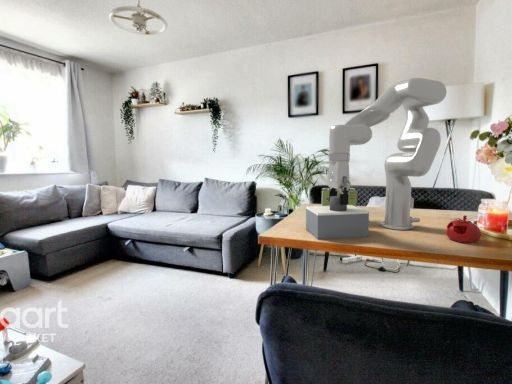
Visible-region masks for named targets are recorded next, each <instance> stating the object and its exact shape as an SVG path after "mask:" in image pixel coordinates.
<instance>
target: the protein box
mask: <svg viewBox="0 0 512 384" xmlns="http://www.w3.org/2000/svg"><path fill="white" fill-rule="evenodd" d="M336 191H337V196H340V194H341V192H340V189H339V188H337V190H336ZM357 201H358V190H357V189H355V188H354V187H350V190H349V196H348V205H353V206H356V207H358V206H357ZM321 206H330V201H329V187H323V188H321Z"/></svg>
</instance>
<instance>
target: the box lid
mask: <svg viewBox="0 0 512 384" xmlns="http://www.w3.org/2000/svg"><path fill="white" fill-rule="evenodd" d="M305 207H306V208H305V210H306V209H308V210H309V211H311V212H313V213H314V214H316V215H318V216H319V215H344V214H368V213H369V214H370V210H366V209H363V208H360V207H358V206H357V207H356V206H353V205H347V211H331V210H330V206H322V205H317V206H316V205H314V206H311V205H310V206H305Z"/></svg>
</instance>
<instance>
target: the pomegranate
mask: <svg viewBox="0 0 512 384" xmlns="http://www.w3.org/2000/svg"><path fill="white" fill-rule="evenodd" d="M467 217H468V216H467V215H463V216H462V219H461V218H460V217H456V218H454V219H452V218H451V219H450V220H451V221H449V223H447V225H446V236H447V238H448V239H449V240H452V241H454V242H458V243H463V244H474V243H477V242H478V241H480V239H481V237H482V232H481V230H480V227H478V225H477V224H476V223H473V222H478V220H475V219H473V220H467Z"/></svg>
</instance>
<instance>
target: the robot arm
mask: <svg viewBox="0 0 512 384" xmlns="http://www.w3.org/2000/svg"><path fill="white" fill-rule="evenodd" d="M447 93H448V91H447V86H446V85H445V83H443V82H442V81H439V80H436V79H435V80H434V79H429V78H423V77H412V78H408V79H405V80H402V81H401V80H400V81H398V82H396V83H394V84H392V85H390V86H389V87H388V88H387V89H386V90H384V91H383V92H382V94H381V95H379V96H378V98H377V99H375V100H374V102H372V103H371V104H370V105H369V106H367V107H366V108H364V109H363V110H361V111H360V112H358V113H357V114H356V115H354V116H352V117H351V118H349V120H347V122H345V123H344V124H336V125H332V126H330V128H329V140H328V142H329V146H328V147H329V148H328V149H329V151H328V162H329V163H328V170H327V186H328V188H329V201H330V197H331V196H337V191H336V190H337V188H339V189H340V192H341V194H340V203H339V204H340V205H348V196H349V190H350V188H351V186H352V185H351V184H352V183H351V181H350V164H349V163H350V160H351V159H350V158H351V157H350V156H351V155H350V151H351V146H359V145H361V146H362V145H365V144H368V142H369V141H371V139H372V138H373V131H372V130H373V129H372V127H374V126H376V125H379V124H381V123H383V122H385V121H387V120H388V119H389V118H390V117H391V116H392V115H393V114H394V113H395V112H396V111H397V110H398V109H399V107H401V106H402V107H403V109H404V112H405V114H406V115H405V116H406V120H405V123H404V126H403V128H402V130H401V133H400V135H399V137H398V139H397V142H396V143H397V144H396V146H397V149H398V150H399V152H396V153H392V154H390V155H388V156H387V157H386V159H385V160H384V173H385V203H384V205H385V206H384V207H385V209H384V220H383V221H381V222H380V226H381V227H383V228H385V229H391V230H399V231H408V230H412V229H414V224H413V223H419V222H421V219H420V217H413V216H411V202H412V201H411V200H412V183H411V180H410V178H409V177H413V178H414V177H415V178H416V177H418V178H419V177H424V176H425V175H427V174H428V172H429V171H430V170H431V167H432V165H433V162H434V160H435V158H436V156H437V153H438V151H439V149H440V146H441V141H442V137H441V134H440V132H439V130H438V129H436V128H434V127H428V126H429V123H430V118H429V116H428V114H427V112H426V111H425V109H424V107H429V106H433V105H434V106H435V105H438V104H440V103H441V102H443V101H444V100H445V98H446V97H447Z"/></svg>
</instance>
